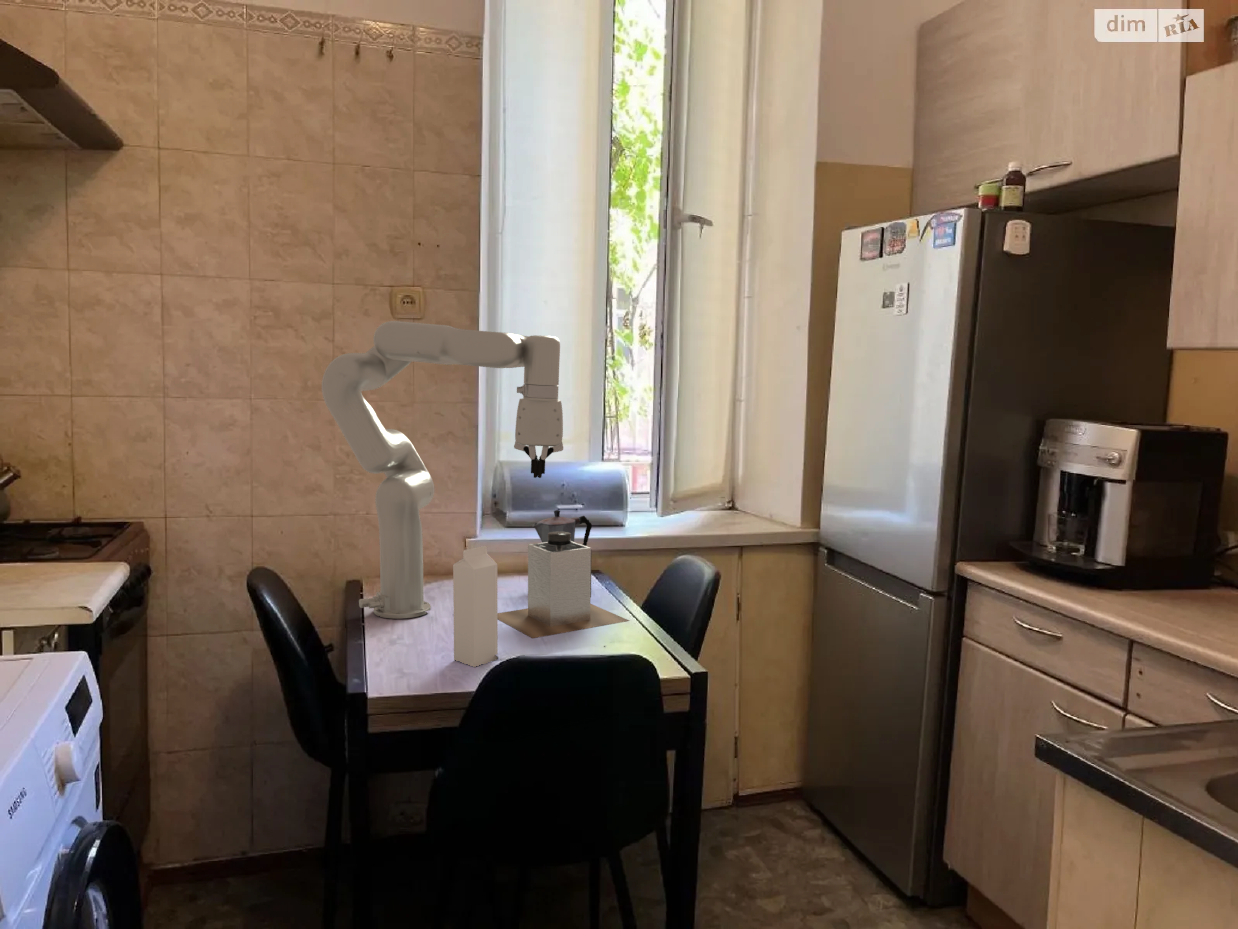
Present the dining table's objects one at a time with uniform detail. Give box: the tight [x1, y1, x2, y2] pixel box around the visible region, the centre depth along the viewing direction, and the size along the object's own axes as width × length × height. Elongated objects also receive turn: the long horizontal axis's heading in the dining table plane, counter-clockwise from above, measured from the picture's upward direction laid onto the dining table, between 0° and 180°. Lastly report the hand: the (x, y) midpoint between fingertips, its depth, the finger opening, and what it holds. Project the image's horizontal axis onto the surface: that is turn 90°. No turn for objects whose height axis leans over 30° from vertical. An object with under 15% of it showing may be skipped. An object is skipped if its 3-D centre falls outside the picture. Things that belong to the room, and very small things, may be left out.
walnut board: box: [497, 603, 630, 639], centre depth 201 cm, size 24×20×1 cm
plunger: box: [548, 532, 571, 551], centre depth 200 cm, size 8×8×13 cm
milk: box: [452, 545, 499, 668], centre depth 175 cm, size 6×6×22 cm
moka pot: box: [532, 509, 593, 547], centre depth 230 cm, size 10×15×20 cm, turn 115°
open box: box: [527, 541, 593, 627], centre depth 201 cm, size 13×10×16 cm
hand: (537, 476), depth 200 cm, fingers closed
